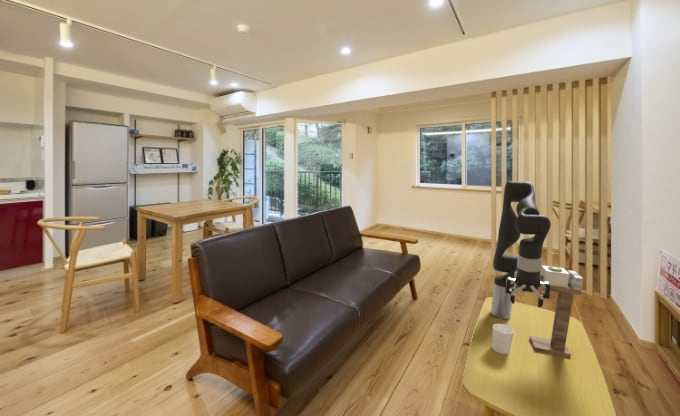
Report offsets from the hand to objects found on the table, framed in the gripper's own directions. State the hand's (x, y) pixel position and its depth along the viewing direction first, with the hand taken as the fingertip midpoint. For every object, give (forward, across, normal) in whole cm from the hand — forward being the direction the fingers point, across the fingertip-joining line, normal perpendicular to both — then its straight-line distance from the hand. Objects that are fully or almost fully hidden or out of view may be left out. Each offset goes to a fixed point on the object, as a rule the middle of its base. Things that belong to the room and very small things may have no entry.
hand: (525, 304), depth 116 cm
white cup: (+27, +7, -5) cm, 29 cm away
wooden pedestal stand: (+30, -12, -16) cm, 36 cm away
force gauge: (0, -7, -19) cm, 20 cm away
